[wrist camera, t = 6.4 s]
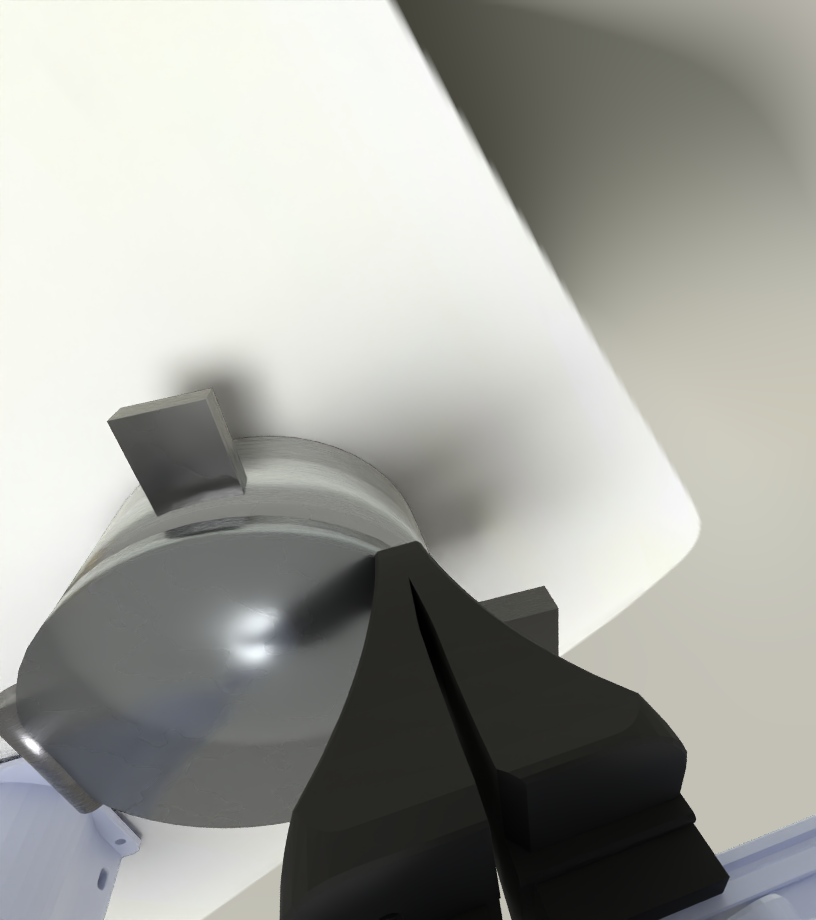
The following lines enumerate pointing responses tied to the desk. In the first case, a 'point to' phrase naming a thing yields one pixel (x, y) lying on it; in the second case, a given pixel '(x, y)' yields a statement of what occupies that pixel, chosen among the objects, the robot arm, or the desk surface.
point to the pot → (239, 478)
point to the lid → (208, 669)
